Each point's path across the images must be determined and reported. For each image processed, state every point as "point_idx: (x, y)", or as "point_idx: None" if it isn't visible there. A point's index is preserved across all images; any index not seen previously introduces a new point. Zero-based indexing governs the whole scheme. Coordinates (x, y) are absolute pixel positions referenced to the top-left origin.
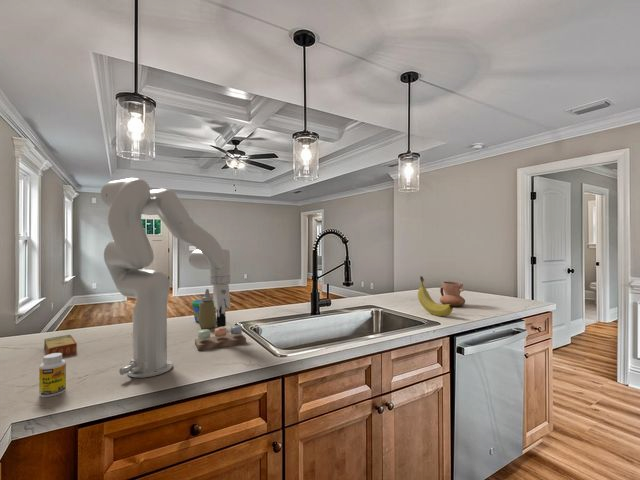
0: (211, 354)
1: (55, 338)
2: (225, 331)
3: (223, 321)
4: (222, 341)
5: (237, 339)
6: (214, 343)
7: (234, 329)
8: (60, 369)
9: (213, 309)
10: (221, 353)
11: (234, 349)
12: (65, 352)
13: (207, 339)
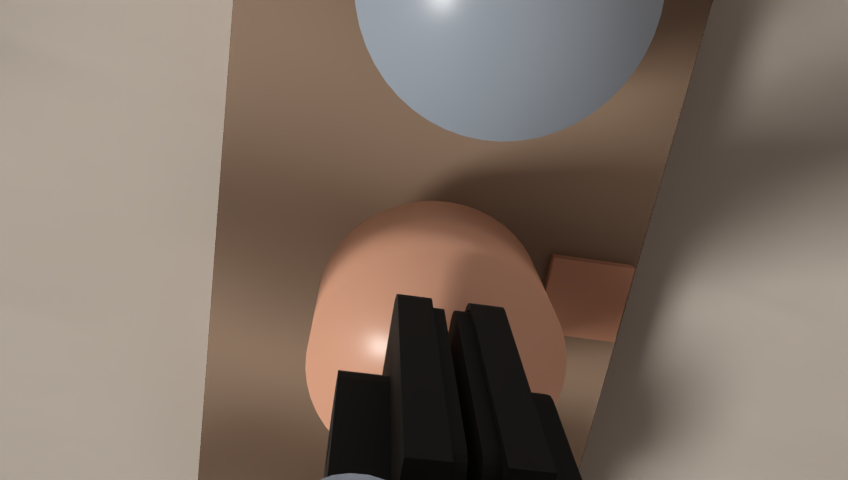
0: (773, 468)
1: None
2: (532, 272)
3: (563, 446)
4: (621, 310)
5: (688, 44)
6: (591, 417)
7: (607, 83)
8: None
9: None
10: (837, 367)
11: (832, 169)
12: None
13: None
